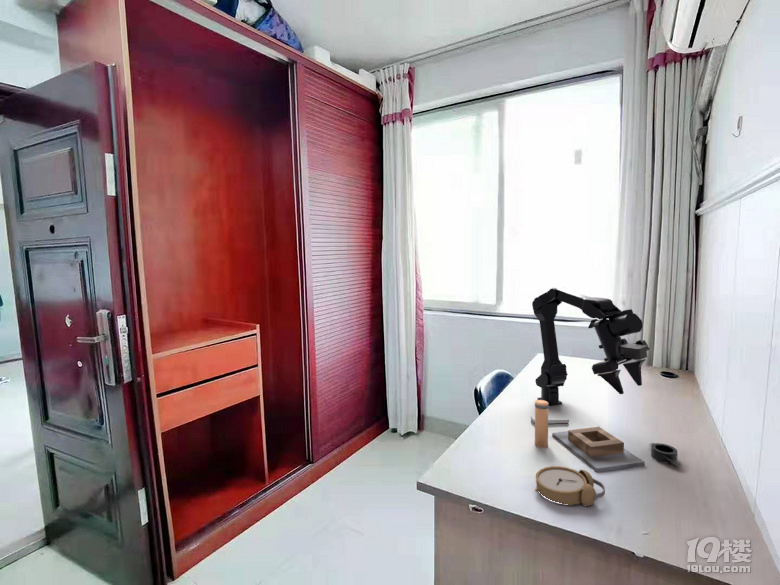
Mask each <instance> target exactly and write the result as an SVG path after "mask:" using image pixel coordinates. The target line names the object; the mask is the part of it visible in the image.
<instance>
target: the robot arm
mask: <svg viewBox="0 0 780 585" xmlns="http://www.w3.org/2000/svg"><path fill="white" fill-rule="evenodd" d="M562 303H565V304H568V305H570V306H573V307H575V308H578V309H579V310H581V311H582V314H585V315H586V316H587V317H588V318H591V319H592V320H590V323H589V325H588V326H587V327H588V329H593V328H594V330H595V333H596V335H597V338H598V340H599V343H600V345H599V344H598V348H599V349H603V352H604V355H605V358H603V360H604V361H603V360H602V361H599V362H597V363H594V364H592V366H591V370H592V373H593V375H597V376H598V377H601V378H602V379H603V380H604V381H605V382H607V383H608V384H609V385H610V386H611V387H612V388H613V389H614V390H615V391H616V392H617V393H618V394H619V395H624V388H623V386H622V382H621V379H620V376H619V375H620V373H621V369H619V366H620V365H622V366H624V368H625V370H626V371H627V373H628V374H629V376H630V377H631V378H632V380H633V381H634V384H636V386H639V387H641V386H642V385H643V381H642V380H643V379H642V365H643V364H644V363H645V362H646V358H648V351H650V347H649V346H648V343H647V341H646V340H645V339H639V340H636V341H635V342H634V343H629V342H628V340H627V339H626V338H622V337H624V336H628V335H632V334H633V335H634V334H636V333H639V332H641V331H642V329H643V324H644V323H643V321H642V319H641V318H640V317H639V316H638V314H636V313H634V311H633V309H632V308H631V309H624V310H623V311H622V310H621V309H620V308H618V307H617V306H616V305H615V304H614V303H613V301H612V299H610V298H605V297H598V296H597V297H591V296H588V295H585V294H582V293H578V292H576V291H573V290H570V289H567V288H566V287H563V286H558V287H552V288H550V289H548V291H547V292H544V293H542V294H541V295H538V296H537V297H535V298H534V299H533V301H532V303H531V304H532V306H531V307H532V311H533V314H534V316H535V317H536V318H537V320H538V322H539V328H540V336H541V344H542V352H543V359H544V360H543V363H542V364H541V368H540V375H539V376H538V377H537V378H535V386H537V387H539V388H540V389H541V391H540V392H541V393H540V394H541V395H540V397H537V399H536V400H544V401H547V402H548V404H549V406H555V405H562V404H563V401H561V400H560V398H559V395H560V393H559V387H564V385H565V382H566V381H567V379H568V378H567V376H568V372H567V365H566V364H565V363H564V364H563V363H562V361H561V360H560V357H559V349H558V340H557V333H556V332H557V331H556V326H555V318H556V316H557V314H558V307H559V306H560V305H561V304H562Z"/></svg>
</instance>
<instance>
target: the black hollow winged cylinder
mask: <svg viewBox="0 0 780 585" xmlns="http://www.w3.org/2000/svg"><path fill="white" fill-rule="evenodd" d="M647 446H649V447H650V450H651V451H650V456H651V457H652V459H654V460H656V461H658V462H660V463H664V464H668V465H669V464H674V465H676V466H683V465H682V464H681V463H679V462H678V449H676V448H675V447H673V446H672V445H669V444H665V443H661V442H660V443H659V442H658V443H654V442H652V443H648V444H647Z"/></svg>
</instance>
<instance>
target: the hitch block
mask: <svg viewBox="0 0 780 585" xmlns="http://www.w3.org/2000/svg"><path fill="white" fill-rule="evenodd" d="M551 436H552V437H553V438H554V439H555V440H557V442H559V443H560V444H561V445H563V446H564V447H565V448H566V449H568V450H569V451H570V452H571V453H573V454H574V455H575V456H576V457H578V459H580V460H581V461H583V462H584V463H585V464H586V465H587V466H589V467H590V468H591V469H592V470H593V471H595V472H596V473H600V472H606V471H608V472H609V471H615V470H621V469H627V468H628V469H629V468H634V467H635V468H636V467H643V466H645V463H646V462H645V461H644V460H643V459H641V458H639V457H638V456H637V455H635V454H633V453H632V452H631V451H629V450H627V449H626V448H625V442H623V441H622V440H621V439H619V438H618V437H616V436H614V435H612V434H611V433H610V432H608V431H607V430H605V429H603V428H602V427H600V426H593V427H585V428H576V429H569V430H565V431H556V432H552V433H551Z"/></svg>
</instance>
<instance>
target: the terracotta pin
mask: <svg viewBox="0 0 780 585" xmlns="http://www.w3.org/2000/svg"><path fill="white" fill-rule="evenodd" d="M549 406H550V405H549V404H548V402H547V401H544V400H538V399H536V400H535V401H534V445H535V446H536V447H538V448H542V449H545V448H547V447H549Z"/></svg>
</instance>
